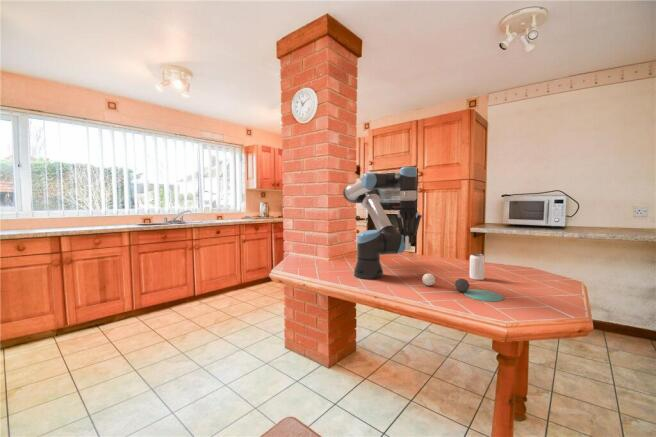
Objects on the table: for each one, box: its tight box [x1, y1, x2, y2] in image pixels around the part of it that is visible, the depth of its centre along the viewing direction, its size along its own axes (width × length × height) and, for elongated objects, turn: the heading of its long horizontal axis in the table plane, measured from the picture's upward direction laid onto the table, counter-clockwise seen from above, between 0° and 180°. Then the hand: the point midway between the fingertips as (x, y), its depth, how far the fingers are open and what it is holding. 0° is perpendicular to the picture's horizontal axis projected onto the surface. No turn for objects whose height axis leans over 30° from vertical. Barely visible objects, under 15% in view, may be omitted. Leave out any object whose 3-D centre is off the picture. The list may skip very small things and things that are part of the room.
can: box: [469, 253, 486, 281], centre depth 134 cm, size 6×6×12 cm
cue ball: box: [421, 273, 436, 286], centre depth 124 cm, size 6×6×6 cm
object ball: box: [454, 278, 470, 293], centre depth 115 cm, size 6×6×6 cm
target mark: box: [463, 288, 504, 303], centre depth 111 cm, size 14×14×1 cm
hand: (408, 249), depth 130 cm, fingers closed
